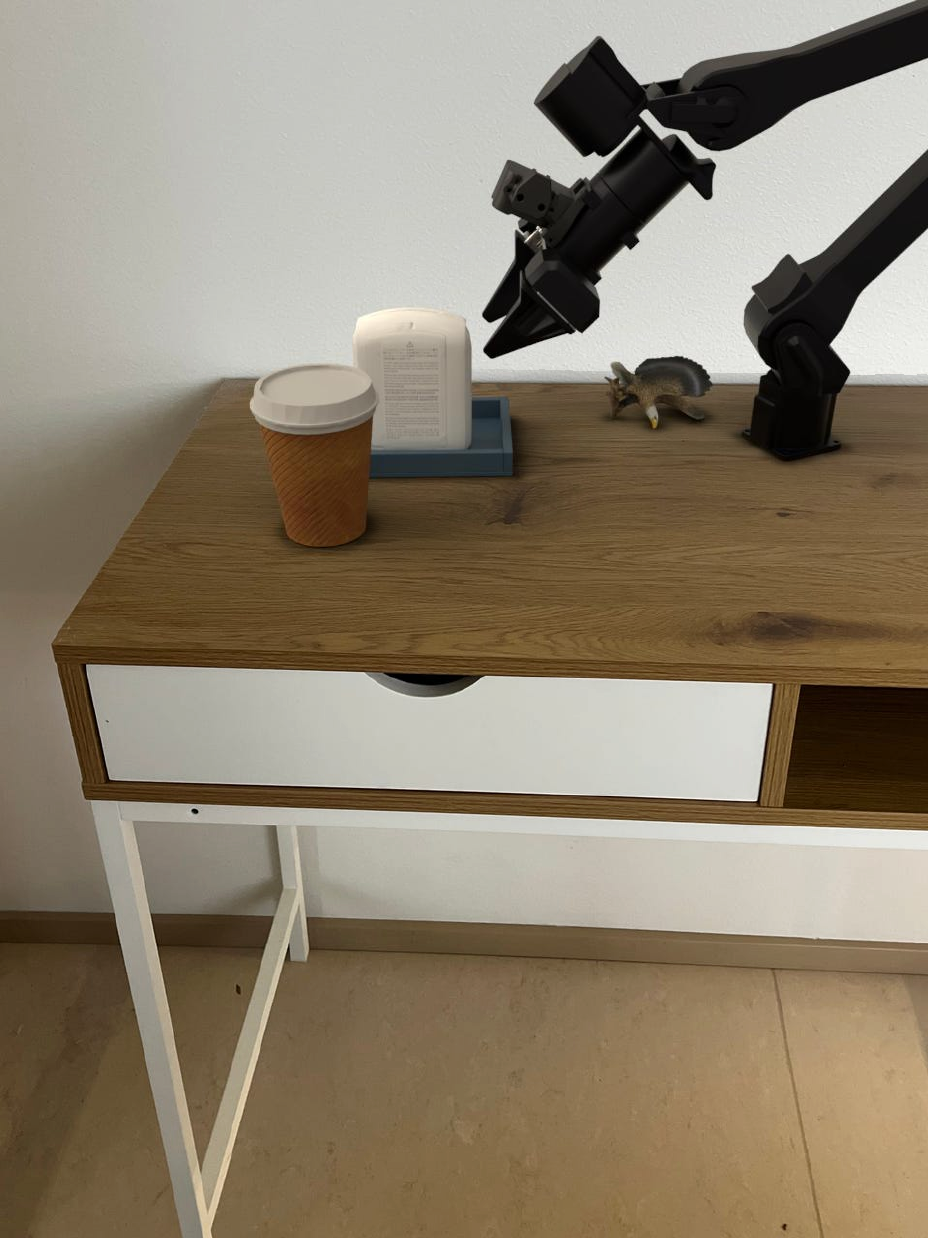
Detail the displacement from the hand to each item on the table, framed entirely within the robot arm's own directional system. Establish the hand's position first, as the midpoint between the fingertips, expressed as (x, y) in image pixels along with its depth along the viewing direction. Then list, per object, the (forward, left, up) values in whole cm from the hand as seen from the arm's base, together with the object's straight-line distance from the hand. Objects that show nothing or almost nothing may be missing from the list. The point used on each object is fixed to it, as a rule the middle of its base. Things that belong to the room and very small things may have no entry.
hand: (485, 336), depth 98 cm
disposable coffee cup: (+18, +9, -10) cm, 23 cm away
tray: (+6, -3, -10) cm, 12 cm away
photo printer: (+6, -2, -10) cm, 12 cm away
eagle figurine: (-17, +2, -10) cm, 20 cm away
